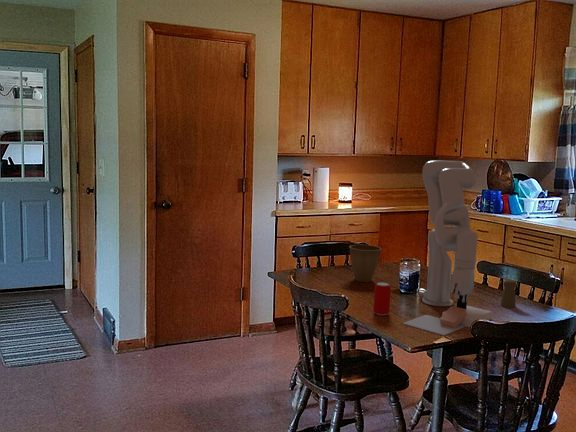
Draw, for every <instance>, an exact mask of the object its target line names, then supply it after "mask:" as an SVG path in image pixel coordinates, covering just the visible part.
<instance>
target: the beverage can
mask: <svg viewBox="0 0 576 432" xmlns="http://www.w3.org/2000/svg"><path fill="white" fill-rule="evenodd" d="M391 292H392V291H391V286H390V284H389V283H387V282H378V283H376V284H375V286H374V294H373V295H374V296H373V313H374V314H375V315H377V316H380V317H381V316H382V317H383V316H387V315H389V314H390V306H391Z"/></svg>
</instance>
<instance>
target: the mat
mask: <svg viewBox="0 0 576 432" xmlns="http://www.w3.org/2000/svg"><path fill="white" fill-rule="evenodd" d="M440 318H441V317H436V316H432V315H428V314H424V315H421V316H418V317H416V318H415V317H414V318H413V319H410V320H407V321H405V322H403V323H402V324H403V325H405V326H408V327H411V328H416V329H419V330H422V331H425V332H429V333H432V334H436V335H440V336H443V337H445V336H447V335H449V334H451V333H454V332H456V331H459V330H461V329H463V328H465V327H466V325H463V324H459V325H458V326H457V327H456V328H452V327H449V326H445V325H441V324H440Z"/></svg>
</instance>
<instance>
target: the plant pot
mask: <svg viewBox="0 0 576 432" xmlns="http://www.w3.org/2000/svg"><path fill="white" fill-rule="evenodd" d="M381 252H382V248H381V247H380V246H376V245H370V244H352V245H349V256H350V264H351V270H352V274H353V276H354V277H353V278H354V279H355V281H357V282H360V283H370V282H371V281H372V279H373V277H374V274H375V272H376V270H377V266H378V264H379V260H380V256H381Z"/></svg>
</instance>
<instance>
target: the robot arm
mask: <svg viewBox="0 0 576 432" xmlns="http://www.w3.org/2000/svg"><path fill="white" fill-rule="evenodd" d="M422 181H423V185H424V187H425V191H426V193H427V198H428V199H427V201H428V210H429V211H428V212H429V213H428V214H429V220H430V223H431V224H433V225H434V228H433V229H431V230H430V231H429V232H428V234H427V243H428V244H427V245H428V269H427V280H426V281H427V282H426V289H424V288H419V291H418V294H420V295H422V296H423V297H422V298H421V299H422V302H423V303H424V304H426V305H429V306H433V307H434V306H435V307H451V306H453V305H454V300H452V299H451V294H454V297H453V298H454V299H456V307H459V308H463V309H466V307H467V306H468V300H469V296H470V295H471V293H472V292H474V286H475V270H476V262H477V261H476V260H477V248H478V234H477V232H475V231H473V230H472V228H471V221H470V212H469V208H468V207H467V206H466V205H465V203H466V202H465V195H464V190H472V189H473V188H474V187H475V186H476V182H477V177H476V174H475V172H474V170H473V168H472V167H470V166H469V164H467V163H466V162H464V161H462V160H461V161H460V160H443V159H441V160H440V159H437V160H435V159H434V160H429V161H427V162H425V164H424V165H423V167H422ZM448 252H454V261H453V260H452V257H450V256H449V254H448ZM452 261H453V262H454V263H453V262H452ZM453 264H454V265H453ZM453 267H454V268H453ZM452 269H453V270H452Z"/></svg>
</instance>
